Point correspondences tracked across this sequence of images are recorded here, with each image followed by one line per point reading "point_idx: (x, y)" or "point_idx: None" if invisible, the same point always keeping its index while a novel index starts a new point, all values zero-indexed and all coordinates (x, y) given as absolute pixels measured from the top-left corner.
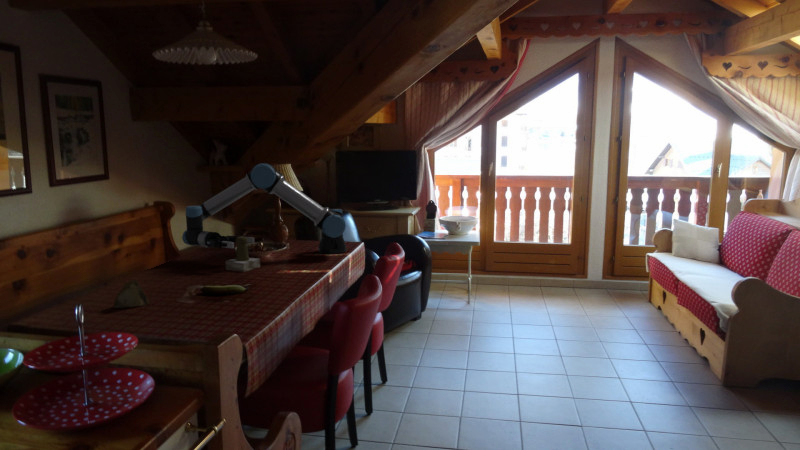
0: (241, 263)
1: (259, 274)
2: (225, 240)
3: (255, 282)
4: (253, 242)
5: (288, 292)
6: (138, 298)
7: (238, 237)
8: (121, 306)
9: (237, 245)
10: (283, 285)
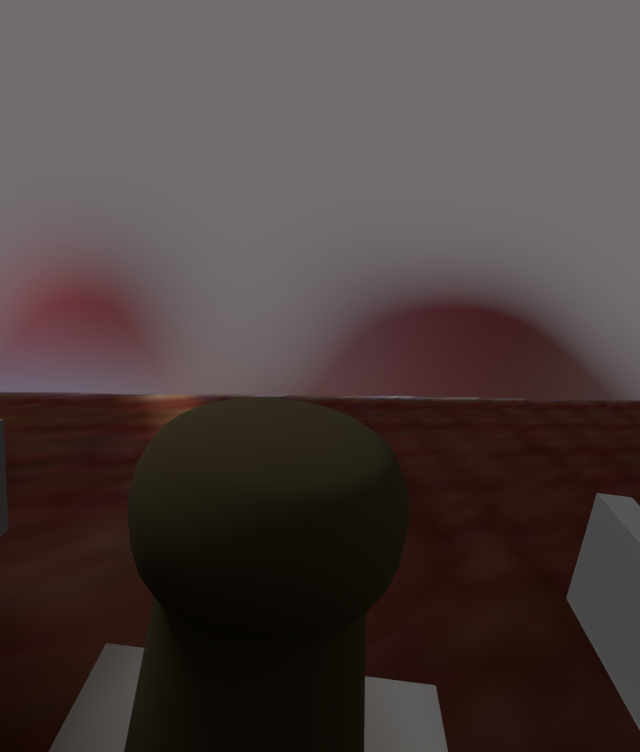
0: (439, 721)
1: (407, 596)
2: None
3: (575, 536)
4: (4, 511)
5: (555, 421)
6: None
7: (368, 447)
8: None
9: (358, 643)
10: (501, 446)
